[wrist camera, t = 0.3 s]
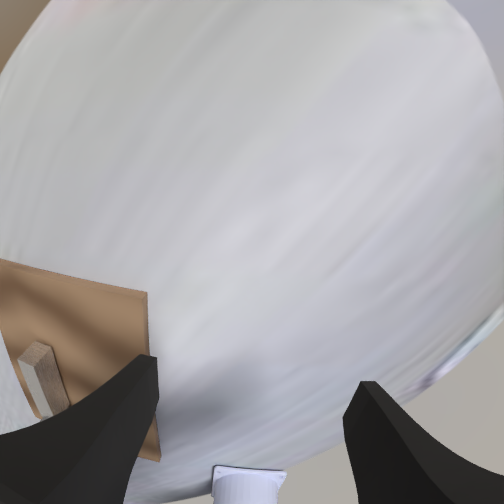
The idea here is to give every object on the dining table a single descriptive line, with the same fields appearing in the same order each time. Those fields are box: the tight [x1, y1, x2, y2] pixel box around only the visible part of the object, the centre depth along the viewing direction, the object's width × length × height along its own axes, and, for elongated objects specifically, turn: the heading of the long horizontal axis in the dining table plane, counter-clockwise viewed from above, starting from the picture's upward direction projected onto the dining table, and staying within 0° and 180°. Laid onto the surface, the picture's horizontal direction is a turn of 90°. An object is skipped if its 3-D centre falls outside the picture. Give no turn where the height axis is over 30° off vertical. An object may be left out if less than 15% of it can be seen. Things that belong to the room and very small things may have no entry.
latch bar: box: [17, 341, 71, 422], centre depth 20 cm, size 11×3×4 cm, turn 172°
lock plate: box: [0, 259, 161, 462], centre depth 21 cm, size 21×17×4 cm
